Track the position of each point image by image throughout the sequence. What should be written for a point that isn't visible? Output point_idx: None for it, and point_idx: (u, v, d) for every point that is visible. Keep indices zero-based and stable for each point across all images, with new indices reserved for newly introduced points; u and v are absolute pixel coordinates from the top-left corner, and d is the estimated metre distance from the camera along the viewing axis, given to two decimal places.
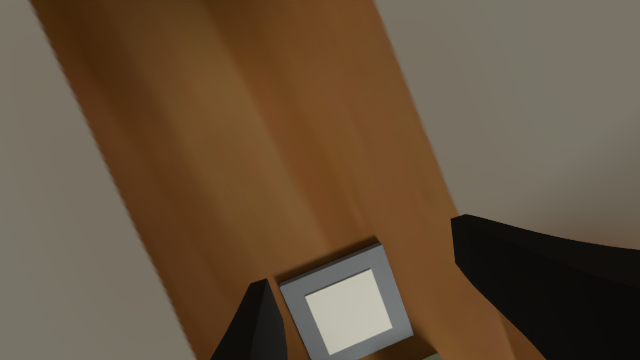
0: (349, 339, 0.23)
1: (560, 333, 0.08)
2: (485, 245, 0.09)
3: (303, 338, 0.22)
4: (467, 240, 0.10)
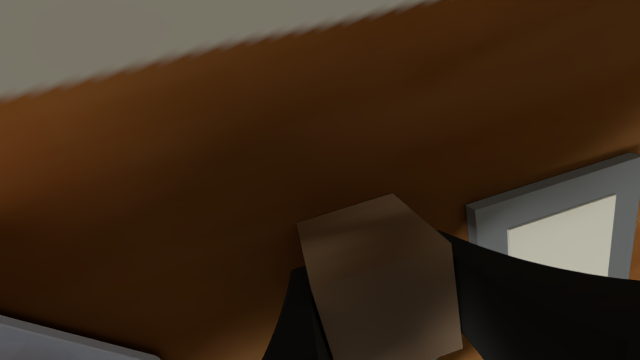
0: None
1: (505, 353, 0.07)
2: None
3: (551, 187, 0.12)
4: None
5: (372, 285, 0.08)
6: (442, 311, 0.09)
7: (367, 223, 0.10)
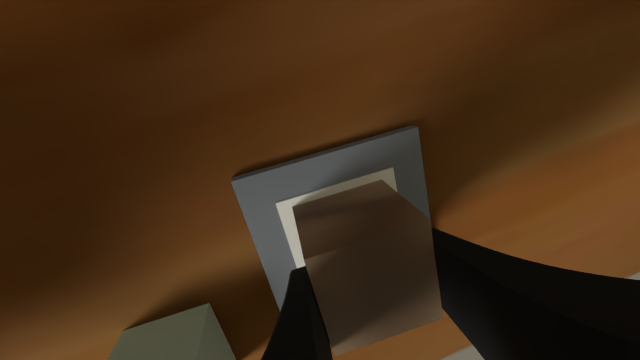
0: None
1: (506, 353, 0.07)
2: (441, 260, 0.09)
3: (315, 159, 0.12)
4: None
5: (359, 257, 0.09)
6: (423, 282, 0.10)
7: (357, 205, 0.11)
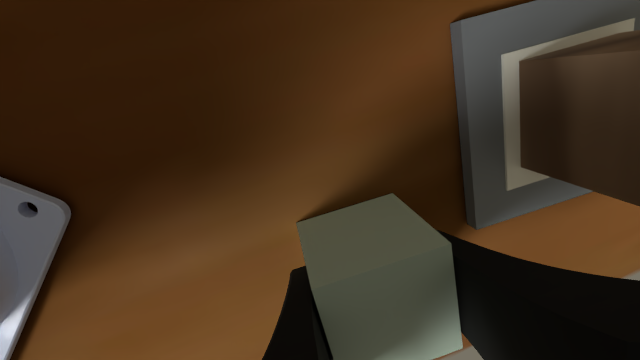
0: (519, 103, 0.11)
1: (505, 353, 0.07)
2: None
3: None
4: None
5: None
6: None
7: (632, 37, 0.09)
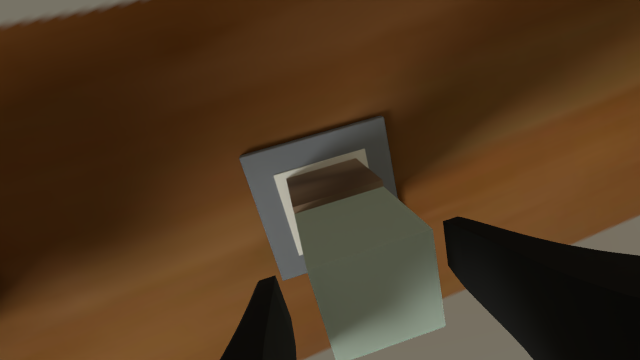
0: None
1: (549, 337, 0.07)
2: (476, 248, 0.09)
3: (304, 141, 0.16)
4: (459, 243, 0.10)
5: None
6: None
7: (334, 175, 0.15)
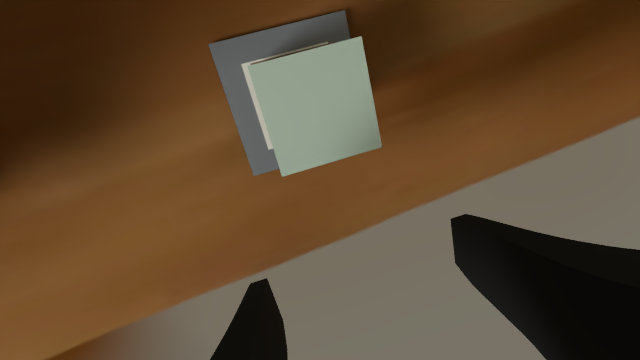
0: None
1: (560, 333, 0.08)
2: (485, 245, 0.09)
3: (269, 30, 0.17)
4: (467, 240, 0.10)
5: None
6: None
7: None
